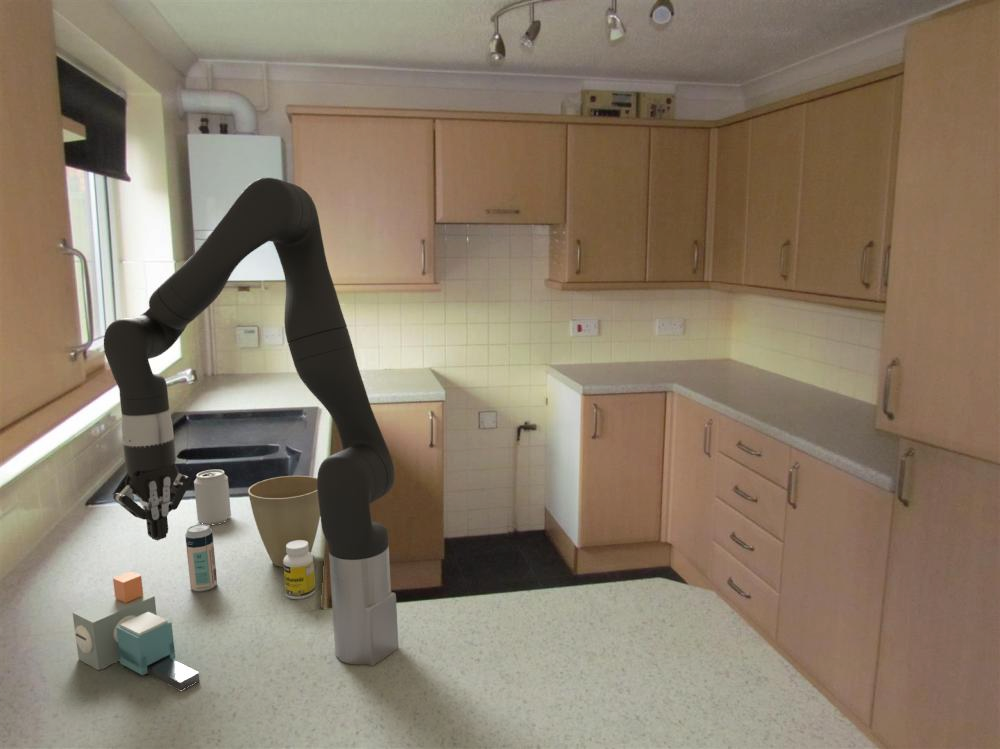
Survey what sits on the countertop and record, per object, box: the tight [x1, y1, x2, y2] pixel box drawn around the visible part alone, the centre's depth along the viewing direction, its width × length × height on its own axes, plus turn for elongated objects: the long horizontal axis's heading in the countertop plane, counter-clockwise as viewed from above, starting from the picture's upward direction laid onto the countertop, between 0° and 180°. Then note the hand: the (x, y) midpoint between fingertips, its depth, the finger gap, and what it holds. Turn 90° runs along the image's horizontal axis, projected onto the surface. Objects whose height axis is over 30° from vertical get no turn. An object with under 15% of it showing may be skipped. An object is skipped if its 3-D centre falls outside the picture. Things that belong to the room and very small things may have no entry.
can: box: [193, 469, 232, 526], centre depth 173 cm, size 8×8×12 cm
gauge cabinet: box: [72, 590, 158, 671], centre depth 117 cm, size 6×10×8 cm, turn 147°
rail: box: [147, 656, 200, 691], centre depth 112 cm, size 16×3×2 cm, turn 57°
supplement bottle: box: [283, 540, 316, 600], centre depth 135 cm, size 5×5×10 cm
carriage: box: [116, 612, 176, 676], centre depth 113 cm, size 6×5×6 cm
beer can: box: [184, 523, 218, 593], centre depth 138 cm, size 5×5×12 cm
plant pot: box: [247, 475, 321, 568], centre depth 150 cm, size 15×15×16 cm
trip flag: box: [112, 570, 144, 603], centre depth 118 cm, size 3×3×4 cm
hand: (159, 538), depth 122 cm, fingers closed
